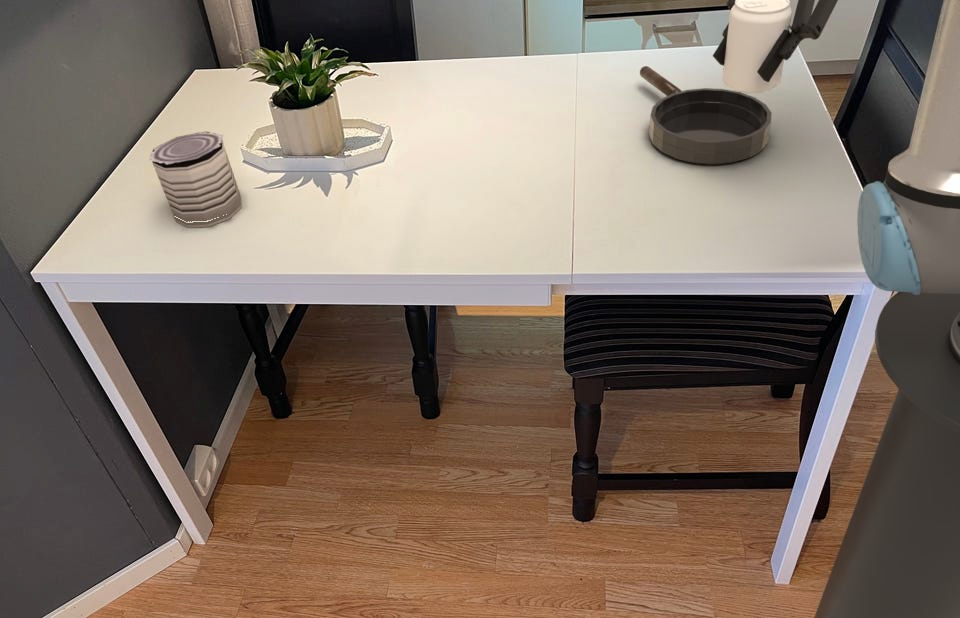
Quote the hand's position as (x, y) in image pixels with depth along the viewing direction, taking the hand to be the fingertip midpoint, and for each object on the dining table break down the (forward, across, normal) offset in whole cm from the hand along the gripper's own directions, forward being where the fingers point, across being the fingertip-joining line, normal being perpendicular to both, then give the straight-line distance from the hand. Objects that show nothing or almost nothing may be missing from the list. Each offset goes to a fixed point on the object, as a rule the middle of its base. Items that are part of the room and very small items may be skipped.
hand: (740, 68), depth 111 cm
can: (+60, +52, +33) cm, 86 cm away
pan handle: (+2, +27, -21) cm, 35 cm away
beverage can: (0, 0, -5) cm, 5 cm away
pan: (+7, +12, -20) cm, 24 cm away
